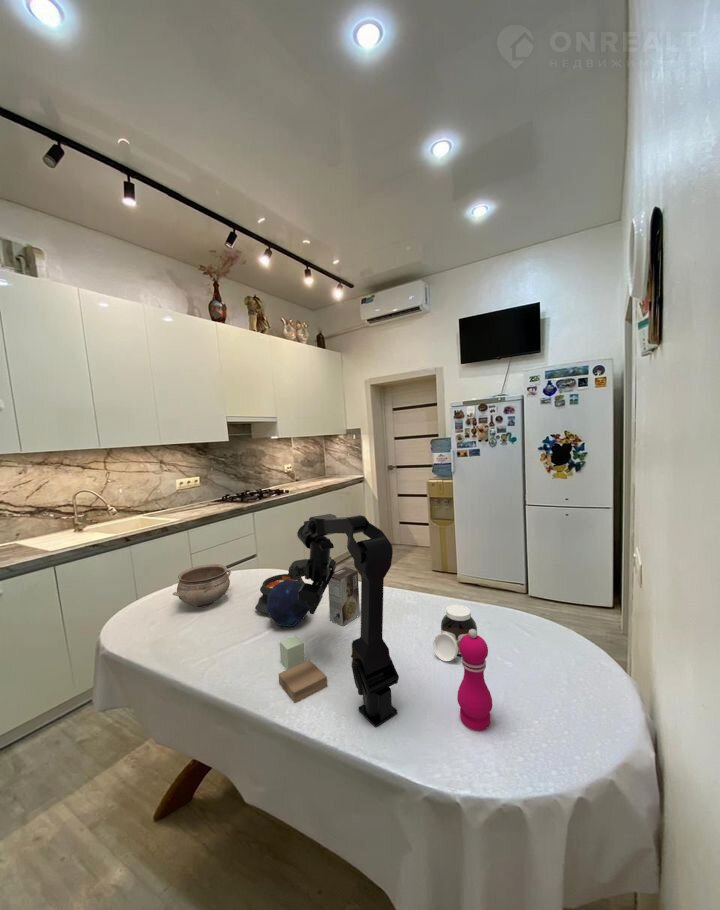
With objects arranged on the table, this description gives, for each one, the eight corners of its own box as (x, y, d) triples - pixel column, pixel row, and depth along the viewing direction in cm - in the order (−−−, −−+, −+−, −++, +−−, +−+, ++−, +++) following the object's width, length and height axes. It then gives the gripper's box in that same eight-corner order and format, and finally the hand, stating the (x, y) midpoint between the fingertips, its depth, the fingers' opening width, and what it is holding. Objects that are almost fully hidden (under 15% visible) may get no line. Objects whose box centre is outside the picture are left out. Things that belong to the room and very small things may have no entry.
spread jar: (477, 644, 106) (476, 605, 105) (479, 668, 95) (478, 625, 94) (435, 639, 109) (434, 602, 108) (432, 662, 98) (431, 620, 97)
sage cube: (305, 663, 100) (303, 642, 99) (288, 671, 97) (287, 649, 96) (296, 655, 104) (295, 635, 103) (280, 662, 101) (279, 641, 101)
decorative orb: (283, 626, 110) (301, 577, 117) (250, 615, 118) (269, 570, 125) (309, 636, 120) (324, 590, 127) (276, 625, 128) (293, 582, 135)
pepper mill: (485, 705, 82) (483, 620, 81) (498, 731, 74) (496, 637, 73) (453, 708, 81) (451, 621, 80) (464, 734, 74) (461, 639, 73)
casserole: (280, 586, 153) (279, 567, 153) (319, 591, 147) (318, 571, 147) (242, 614, 130) (241, 591, 129) (288, 621, 123) (286, 597, 123)
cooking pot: (215, 586, 156) (214, 559, 155) (246, 594, 146) (245, 565, 146) (159, 612, 134) (157, 580, 134) (191, 623, 125) (189, 588, 124)
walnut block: (327, 688, 90) (326, 676, 90) (294, 705, 85) (294, 692, 85) (310, 670, 97) (309, 659, 97) (279, 685, 92) (278, 673, 92)
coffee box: (346, 610, 129) (344, 566, 129) (360, 615, 125) (358, 570, 125) (329, 621, 122) (326, 574, 122) (343, 626, 118) (340, 578, 118)
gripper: (303, 537, 113) (301, 580, 117) (280, 568, 95) (278, 619, 99) (338, 543, 111) (334, 587, 115) (320, 576, 93) (317, 627, 97)
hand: (316, 603), depth 106 cm, fingers open, 9 cm apart
